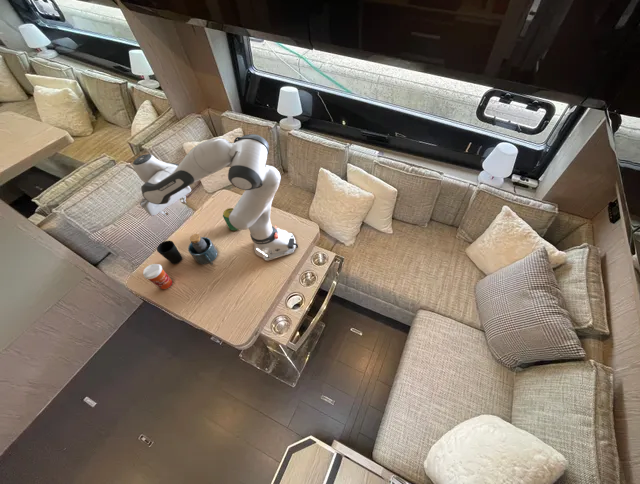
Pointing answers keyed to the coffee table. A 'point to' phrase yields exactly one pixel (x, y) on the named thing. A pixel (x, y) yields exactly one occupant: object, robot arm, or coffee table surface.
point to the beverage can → (226, 218)
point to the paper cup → (157, 276)
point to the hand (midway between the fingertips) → (175, 208)
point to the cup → (169, 252)
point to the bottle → (199, 243)
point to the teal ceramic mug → (204, 253)
